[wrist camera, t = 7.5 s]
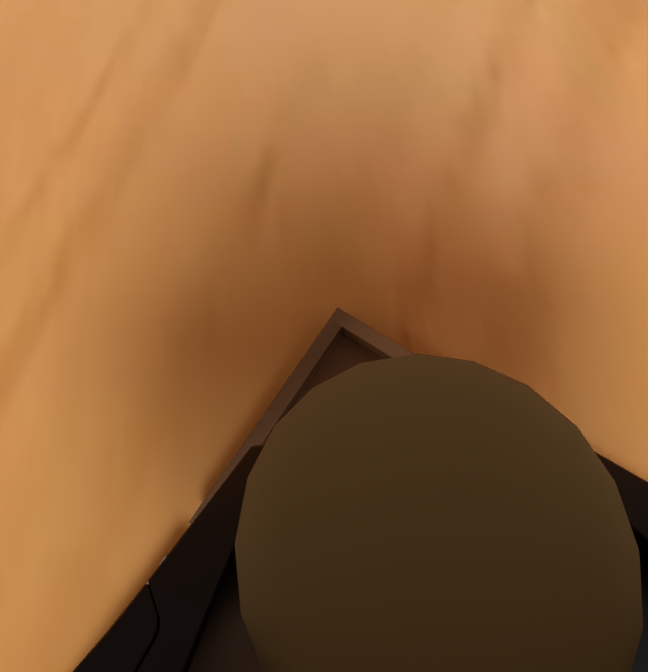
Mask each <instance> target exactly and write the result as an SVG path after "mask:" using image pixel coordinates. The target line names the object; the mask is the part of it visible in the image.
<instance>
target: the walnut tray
mask: <svg viewBox="0 0 648 672" xmlns="http://www.w3.org/2000/svg"><path fill="white" fill-rule="evenodd" d="M412 354H413V353H412V352H410V351H408V350H407V349H405V348H403V347H402V346H400V345H398V344H397V343H395V342H393V341H392V340H390V339H388V338H387V337H385V336H384V335H382V334H380V333H379V332H377V331H375V330H374V329H372V328H370V327H369V326H367V325H365V324H364V323H362V322H360V321H359V320H357V319H356V318H354V317H352V316H351V315H349V314H347V313H346V312H344V311H342V310H341V309H339V308H337V309H336V311H335V312H334V314H333V315H332V317H331V318H330V319H329V321H328V322H327V324H326V325H325V327H324V328H323V330H322V331H321V332H320V334H319V335H318V337H317V338H316V340H315V341H314V343H313V344H312V345H311V347H310V348H309V350H308V351H307V353H306V354H305V356H304V357H303V358H302V360H301V361H300V363H299V364H298V366H297V367H296V369H295V370H294V371H293V373H292V374H291V376H290V377H289V379H288V380H287V382H286V383H285V384H284V386H283V387H282V389H281V390H280V392H279V393H278V395H277V396H276V397H275V399H274V400H273V402H272V403H271V405H270V406H269V408H268V409H267V410H266V412H265V413H264V415H263V416H262V418H261V419H260V421H259V422H258V423H257V425H256V426H255V428H254V429H253V431H252V432H251V434H250V435H249V436H248V438H247V439H246V441H245V442H244V444H243V445H242V446H241V448H240V449H239V451H238V452H237V454H236V455H235V457H234V458H233V459H232V461H231V462H230V464H229V465H228V467H227V468H226V470H225V471H224V472H223V474H222V475H221V477H220V478H219V480H218V481H217V483H216V484H215V485H214V487H213V488H212V490H211V491H210V493H209V494H208V496H207V497H206V498H205V500H204V501H203V503H202V504H201V506H200V507H199V509H198V510H197V511H196V513H195V514H194V516H193V517H192V519H191V520H190V522H189V523H190V524H192V522H193V521H194V520H195V518H196V517H197V516H198V515H199V513H200V512H201V511H202V509H203V508H204V507H205V505H206V504H207V503H208V502H209V500H210V499H211V498H212V496H213V495H214V494H215V492H216V491H217V490H218V489H219V487H220V486H221V485H222V483H223V482H224V481H225V479H226V478H227V477H228V476H229V474H230V473H231V472H232V470H233V469H234V468H235V466H236V465H237V464H238V463H239V461H240V460H241V459H242V457H243V456H244V455H245V453H246V452H247V451H248V450H249V448H250V447H252V446H254V445H261V444H265V443H266V442H267V440H268V438H269V436H270V434H271V432H272V430H273V428H274V426H275V425H276V424H277V423H278V422H279V421H280V420H281V419H282V418H283V417H284V416H285V415H286V414H287V413H288V412H289V411H290V410H291V409H292V408H293V407H294V406H295V405H296V404H297V403H298V402H299V401H300V400H301V399H302V398H303V397H304V396H305V395H306V394H307V393H308V392H309V391H310V390H311V389H312V388H313V387H315V386H317V385H319V384H321V383H323V382H325V381H327V380H329V379H331V378H333V377H335V376H337V375H338V374H340V373H342V372H344V371H346V370H348V369H350V368H352V367H354V366H356V365H358V364H360V363H365V362H371V361H377V360H383V359H388V358H394V357H400V356H406V355H412Z"/></svg>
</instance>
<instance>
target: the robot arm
mask: <svg viewBox="0 0 648 672" xmlns="http://www.w3.org/2000/svg"><path fill="white" fill-rule="evenodd" d="M264 445H265V444H261V445H254V446H252V447H250V448H249V450H248V451H247V452H246V453H245V455H244V456H243V457H242V459H241V460H240V461H239V463H238V464H237V465H236V466H235V468H234V469H233V470H232V472H231V473H230V474H229V476H228V477H227V478H226V479H225V481H224V482H223V483H222V485H221V486H220V487H219V489H218V490H217V491H216V492H215V494H214V495H213V496H212V498H211V499H210V500H209V502H208V503H207V504H206V505H205V507H204V508H203V509H202V511H201V512H200V513H199V515H198V516H197V517H196V518H195V520H194V521H193V522H192V524H191V525H190V526H189V528H188V529H187V530H186V532H185V533H184V534H183V535H182V537H181V538H180V539H179V541H178V542H177V543H176V545H175V546H174V547H173V548H172V550H171V551H170V552H169V554H168V555H167V556H166V558H165V559H164V560H163V561H162V563H161V564H160V565H159V567H158V568H157V569H156V571H155V572H154V573H153V574H152V576H151V577H150V578H149V580H148V584H149V585H148V584H145V585H144V586H143V587H142V588H141V590H140V591H139V592H138V594H137V595H136V596H135V598H134V599H133V600H132V601H131V603H130V604H129V605H128V607H127V608H126V609H125V610H124V612H123V613H122V614H121V615H120V616H119V618H118V619H117V620H116V621H115V623H114V624H113V625H112V626H111V628H110V629H109V630H108V631H107V633H106V634H105V635H104V636H103V637H102V638H101V640H100V641H99V642H98V643H97V644H96V645H95V647H94V648H93V649H92V650H91V651H90V652H89V653H88V655H87V656H86V657H85V658H84V659H83V660H82V661H81V663H80V664H79V665H78V666H77V667H76V668H75V669H74V671H73V672H263V670H262V667H261V665H260V662H259V660H258V657H257V654H256V652H255V649H254V647H253V644H252V642H251V639H250V636H249V634H248V631H247V629H246V626H245V623H244V621H243V618H242V616H241V610H240V599H239V587H238V576H237V565H236V554H235V540H236V535H237V529H238V524H239V519H240V514H241V509H242V504H243V499H244V494H245V489H246V483H247V478H248V476H249V474H250V472H251V470H252V468H253V466H254V464H255V463H256V461H257V459H258V457H259V455H260V453H261V451H262V449H263V447H264ZM594 452H595V451H594ZM595 453H596V452H595ZM596 455H597V456H598V458H599V459H600V460H601V462H602V463H603V465H604V466H605V468H606V469H607V471H608V472H609V473H610V475H611V476H612V478H613V479H614V481H615V482H616V485H617V488H618V491H619V494H620V497H621V500H622V503H623V506H624V508H625V511H626V514H627V517H628V520H629V523H630V526H631V529H632V531H633V534H634V537H635V540H636V543H637V546H638V549H639V555H640V572H641V593H642V613H643V630H642V634H641V637H640V641H639V645H638V649H637V652H636V656H635V660H634V663H633V667H632V671H631V672H648V482H647V481H645V480H643V479H641V478H640V477H638V476H636V475H634V474H633V473H631V472H629V471H628V470H626V469H624V468H622V467H621V466H619V465H617V464H615V463H614V462H612V461H610V460H608V459H607V458H605V457H603V456H601V455H600V454H598V453H596Z"/></svg>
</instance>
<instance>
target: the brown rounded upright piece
mask: <svg viewBox="0 0 648 672" xmlns="http://www.w3.org/2000/svg"><path fill="white" fill-rule="evenodd" d="M235 554H236V565H237V576H238V587H239V599H240V610H241V616H242V618H243V621H244V623H245V626H246V629H247V631H248V634H249V636H250V639H251V642H252V644H253V647H254V649H255V652H256V654H257V657H258V660H259V662H260V665H261V667H262V670H263V672H631V671H632V667H633V663H634V660H635V656H636V652H637V649H638V645H639V641H640V637H641V634H642V630H643V613H642V593H641V572H640V555H639V549H638V546H637V543H636V540H635V537H634V534H633V531H632V529H631V526H630V523H629V520H628V517H627V514H626V511H625V508H624V506H623V503H622V500H621V497H620V494H619V491H618V488H617V485H616V482H615V481H614V479H613V478H612V476H611V475H610V473H609V472H608V471H607V469H606V468H605V466H604V465H603V463H602V462H601V460H600V459H599V458H598V456H597V455H596V453H595V452H594V450H593V449H592V448H591V446H590V445H589V443H588V442H587V440H586V439H585V437H584V436H583V435H582V433H581V432H580V430H579V429H578V427H577V426H576V425H575V424H573V423H572V422H571V421H570V420H569V419H567V418H566V417H565V416H564V415H563V414H561V413H560V412H559V411H558V410H557V409H555V408H554V407H553V406H552V405H551V404H549V403H548V402H547V401H546V400H545V399H544V398H542V397H541V396H540V395H539V394H538V393H536V392H535V391H534V390H533V389H532V388H530V387H529V386H528V385H526V384H523V383H521V382H519V381H517V380H514V379H512V378H510V377H508V376H505V375H503V374H501V373H499V372H496V371H494V370H492V369H490V368H487V367H485V366H483V365H481V364H479V363H476V362H474V361H467V360H460V359H452V358H445V357H437V356H429V355H422V354H412V355H406V356H400V357H394V358H388V359H383V360H377V361H371V362H365V363H360V364H358V365H356V366H354V367H352V368H350V369H348V370H346V371H344V372H342V373H340V374H338V375H337V376H335V377H333V378H331V379H329V380H327V381H325V382H323V383H321V384H319V385H317V386H315V387H313V388H312V389H311V390H310V391H309V392H308V393H307V394H306V395H305V396H304V397H303V398H302V399H301V400H300V401H299V402H298V403H297V404H296V405H295V406H294V407H293V408H292V409H291V410H290V411H289V412H288V413H287V414H286V415H285V416H284V417H283V418H282V419H281V420H280V421H279V422H278V423H277V424H276V425H275V426H274V428H273V430H272V432H271V434H270V436H269V438H268V440H267V442H266V443H265V445H264V447H263V449H262V451H261V453H260V455H259V457H258V459H257V461H256V463H255V464H254V466H253V468H252V470H251V472H250V474H249V476H248V478H247V483H246V489H245V494H244V499H243V504H242V509H241V514H240V519H239V524H238V529H237V535H236V540H235Z"/></svg>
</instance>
